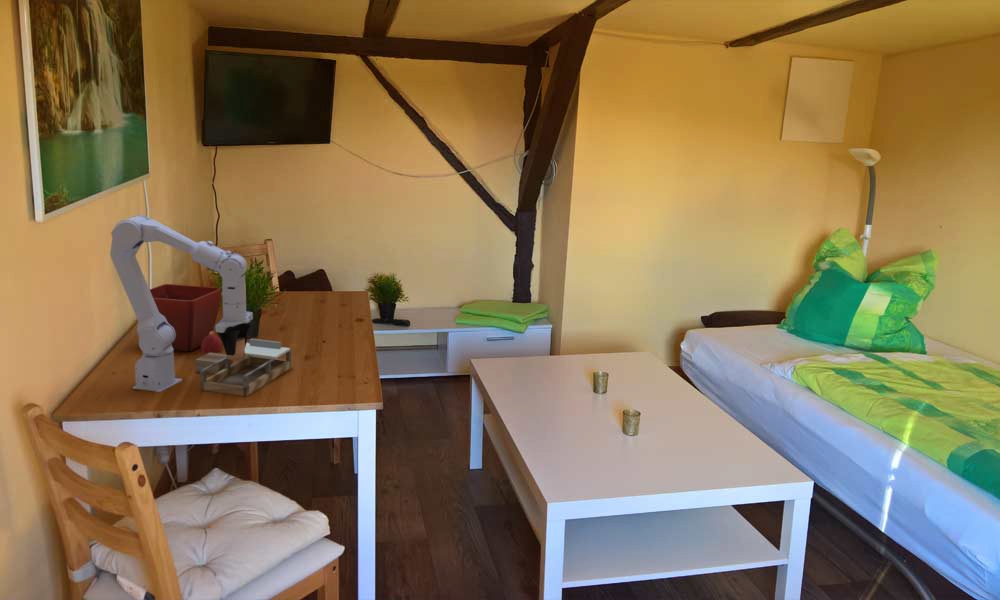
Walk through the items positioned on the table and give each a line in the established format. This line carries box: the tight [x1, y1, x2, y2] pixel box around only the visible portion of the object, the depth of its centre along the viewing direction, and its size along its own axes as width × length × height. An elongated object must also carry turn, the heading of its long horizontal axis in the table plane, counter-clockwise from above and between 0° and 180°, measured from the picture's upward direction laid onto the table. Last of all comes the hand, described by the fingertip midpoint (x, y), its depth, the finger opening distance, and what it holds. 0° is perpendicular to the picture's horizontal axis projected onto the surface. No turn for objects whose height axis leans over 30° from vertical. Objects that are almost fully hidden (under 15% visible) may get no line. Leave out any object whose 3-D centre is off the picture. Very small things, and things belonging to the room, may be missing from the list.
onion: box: [200, 330, 223, 355], centre depth 215 cm, size 6×6×8 cm
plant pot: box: [149, 283, 222, 352], centre depth 224 cm, size 19×19×17 cm
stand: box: [194, 353, 234, 375], centre depth 204 cm, size 7×7×4 cm
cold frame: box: [199, 350, 292, 397], centre depth 199 cm, size 24×13×6 cm, turn 169°
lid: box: [245, 338, 291, 359], centre depth 204 cm, size 8×14×2 cm, turn 79°
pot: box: [227, 337, 246, 361], centre depth 192 cm, size 4×4×5 cm
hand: (235, 352), depth 193 cm, fingers closed on pot, 4 cm apart
